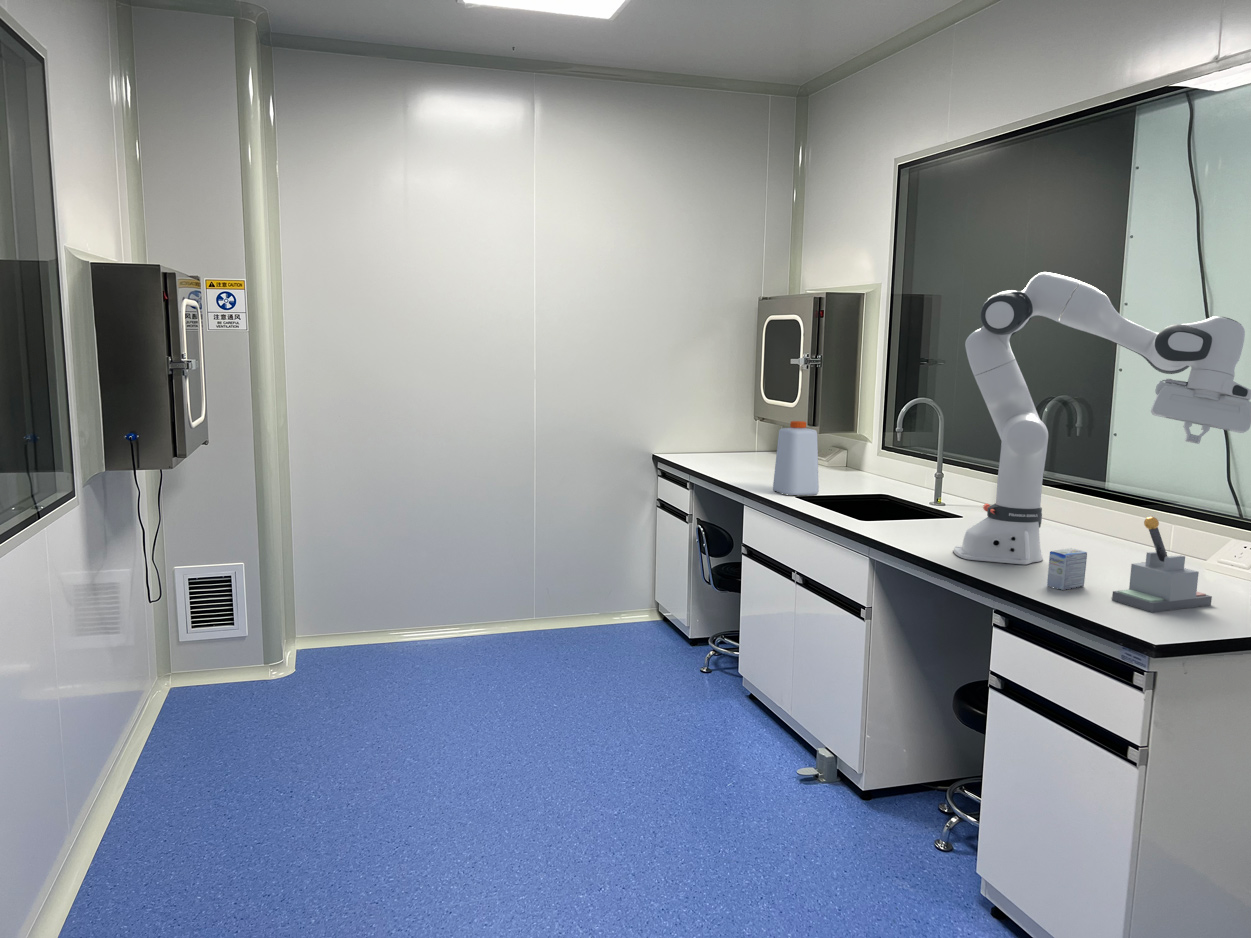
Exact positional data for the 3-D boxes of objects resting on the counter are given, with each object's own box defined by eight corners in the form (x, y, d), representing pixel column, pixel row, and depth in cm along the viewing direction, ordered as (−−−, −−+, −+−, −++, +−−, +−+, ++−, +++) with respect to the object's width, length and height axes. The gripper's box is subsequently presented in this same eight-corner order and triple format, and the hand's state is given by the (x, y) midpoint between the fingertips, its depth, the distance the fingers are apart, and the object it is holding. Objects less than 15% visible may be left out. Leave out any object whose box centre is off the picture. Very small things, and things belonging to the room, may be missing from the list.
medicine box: (1067, 582, 213) (1070, 547, 212) (1084, 587, 209) (1087, 551, 208) (1046, 586, 210) (1049, 550, 208) (1063, 591, 206) (1066, 554, 205)
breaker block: (1169, 593, 205) (1173, 547, 203) (1210, 605, 196) (1216, 556, 194) (1111, 599, 198) (1116, 552, 197) (1152, 612, 189) (1157, 562, 188)
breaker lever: (1162, 556, 197) (1148, 513, 194) (1174, 559, 195) (1159, 515, 191) (1154, 563, 197) (1139, 520, 193) (1165, 565, 194) (1151, 522, 191)
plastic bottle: (787, 497, 334) (790, 423, 330) (768, 490, 348) (771, 420, 344) (822, 495, 339) (826, 422, 335) (802, 489, 353) (805, 419, 349)
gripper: (1161, 374, 210) (1144, 430, 211) (1261, 393, 202) (1244, 451, 202) (1157, 378, 216) (1141, 433, 216) (1254, 397, 207) (1238, 453, 208)
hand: (1191, 442), depth 209 cm, fingers closed
